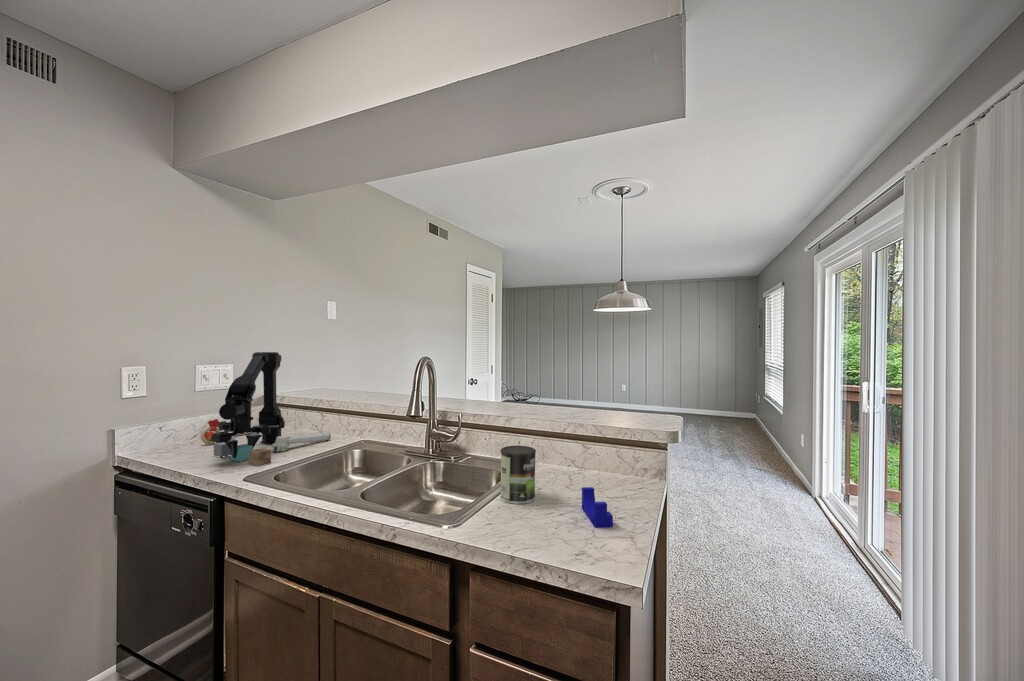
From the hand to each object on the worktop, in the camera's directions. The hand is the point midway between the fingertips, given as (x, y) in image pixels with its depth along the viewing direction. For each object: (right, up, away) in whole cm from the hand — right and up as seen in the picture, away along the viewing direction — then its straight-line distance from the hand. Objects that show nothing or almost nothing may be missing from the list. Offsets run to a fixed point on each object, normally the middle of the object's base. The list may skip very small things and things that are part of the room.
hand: (241, 456), depth 157 cm
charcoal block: (-10, -1, +5) cm, 11 cm away
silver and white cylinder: (+12, -2, +21) cm, 24 cm away
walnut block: (+10, -2, -5) cm, 11 cm away
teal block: (0, -1, 0) cm, 1 cm away
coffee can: (+103, -3, -35) cm, 109 cm away
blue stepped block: (+124, -3, -48) cm, 133 cm away
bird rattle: (-26, -1, +22) cm, 34 cm away
